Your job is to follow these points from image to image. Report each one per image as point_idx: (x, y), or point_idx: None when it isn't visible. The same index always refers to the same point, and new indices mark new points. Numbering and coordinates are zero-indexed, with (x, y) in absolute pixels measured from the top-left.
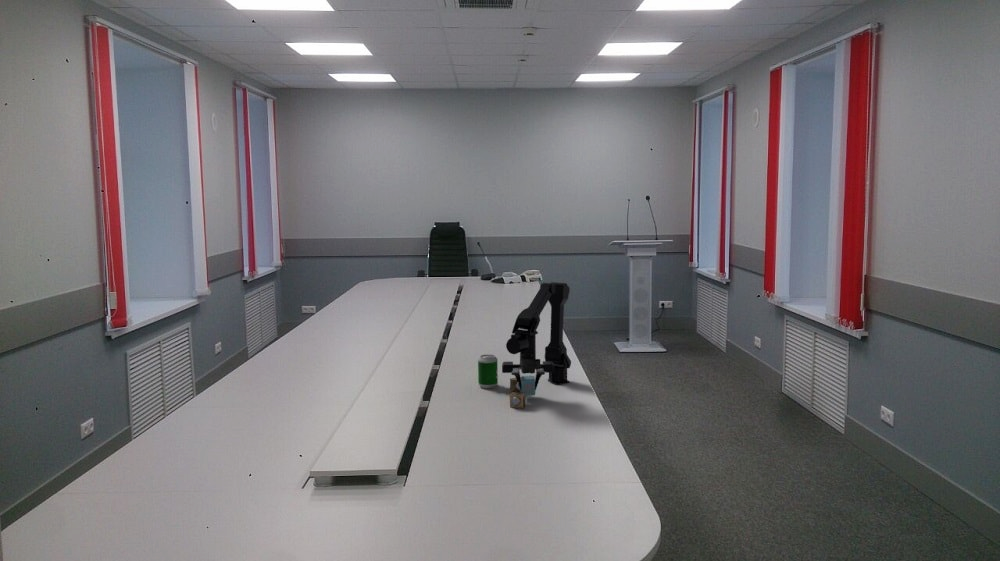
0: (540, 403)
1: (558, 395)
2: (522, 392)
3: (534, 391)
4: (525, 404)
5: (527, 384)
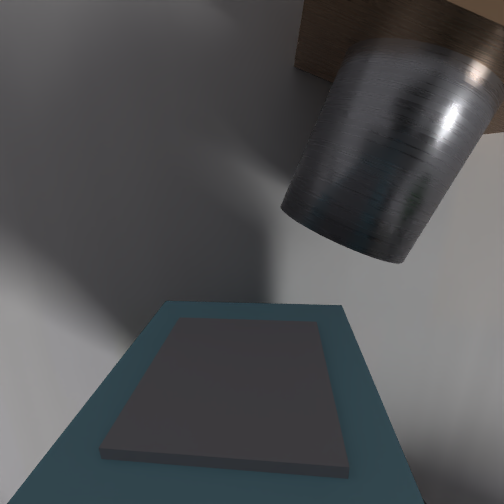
0: (128, 198)
1: (13, 397)
2: (337, 327)
3: (150, 328)
4: (296, 52)
5: (243, 437)
